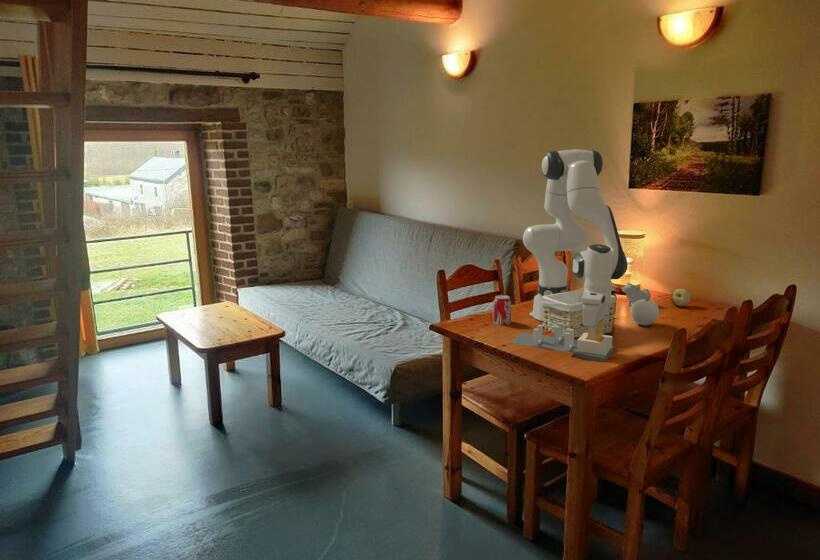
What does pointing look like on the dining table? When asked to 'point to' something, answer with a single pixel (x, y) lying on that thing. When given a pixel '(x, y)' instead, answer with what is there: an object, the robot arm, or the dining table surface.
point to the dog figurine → (635, 293)
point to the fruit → (680, 297)
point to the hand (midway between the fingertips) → (595, 333)
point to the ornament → (645, 312)
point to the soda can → (502, 310)
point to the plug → (599, 332)
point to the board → (568, 343)
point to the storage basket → (571, 312)
